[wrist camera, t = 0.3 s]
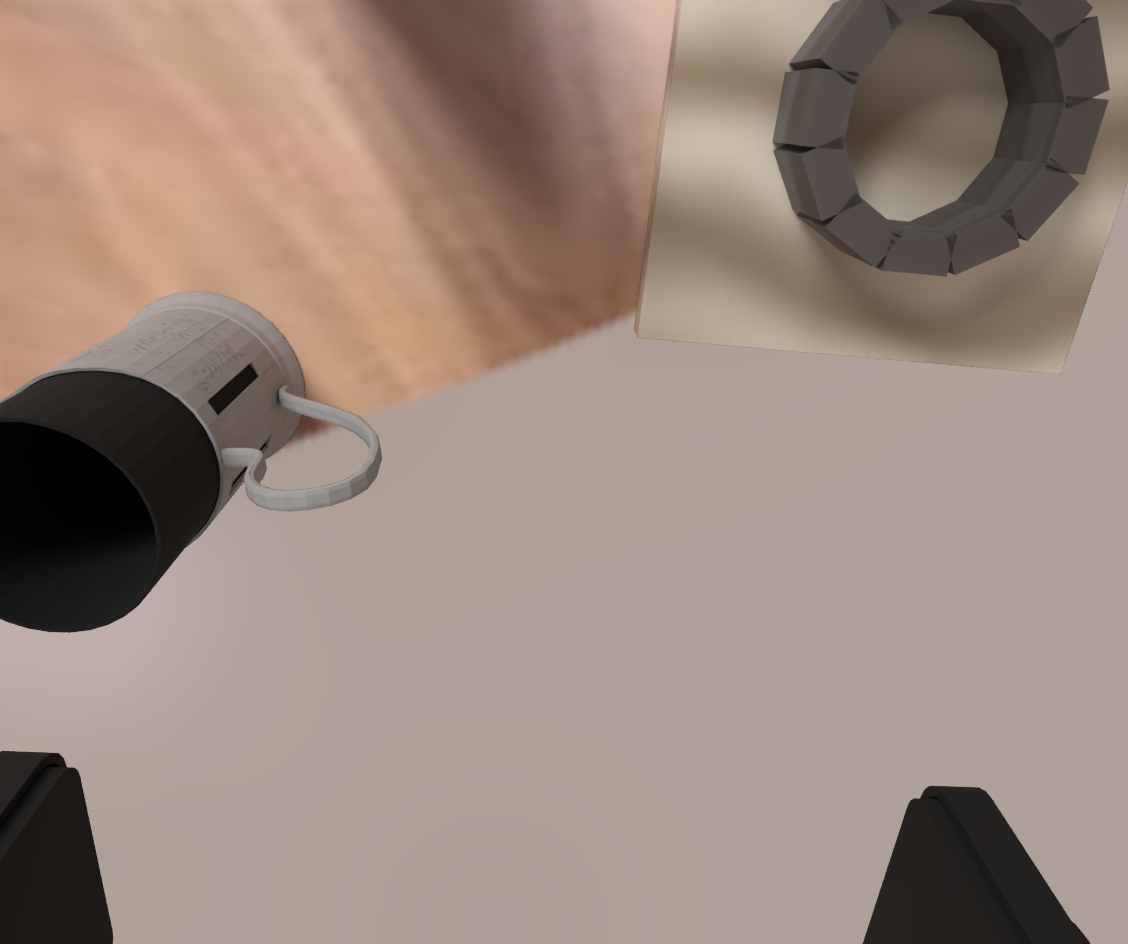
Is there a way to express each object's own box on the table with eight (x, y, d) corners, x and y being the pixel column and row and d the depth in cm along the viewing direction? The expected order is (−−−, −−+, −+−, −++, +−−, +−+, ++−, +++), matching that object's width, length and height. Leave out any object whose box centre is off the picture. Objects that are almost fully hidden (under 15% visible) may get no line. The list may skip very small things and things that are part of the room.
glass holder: (94, 295, 38) (-162, 403, 24) (408, 282, 38) (334, 381, 24) (141, 472, 41) (-58, 655, 27) (427, 459, 41) (373, 634, 28)
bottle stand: (702, -197, 31) (734, -256, 26) (1209, -132, 32) (1334, -176, 27) (634, 329, 39) (648, 362, 34) (1043, 365, 40) (1115, 402, 35)
